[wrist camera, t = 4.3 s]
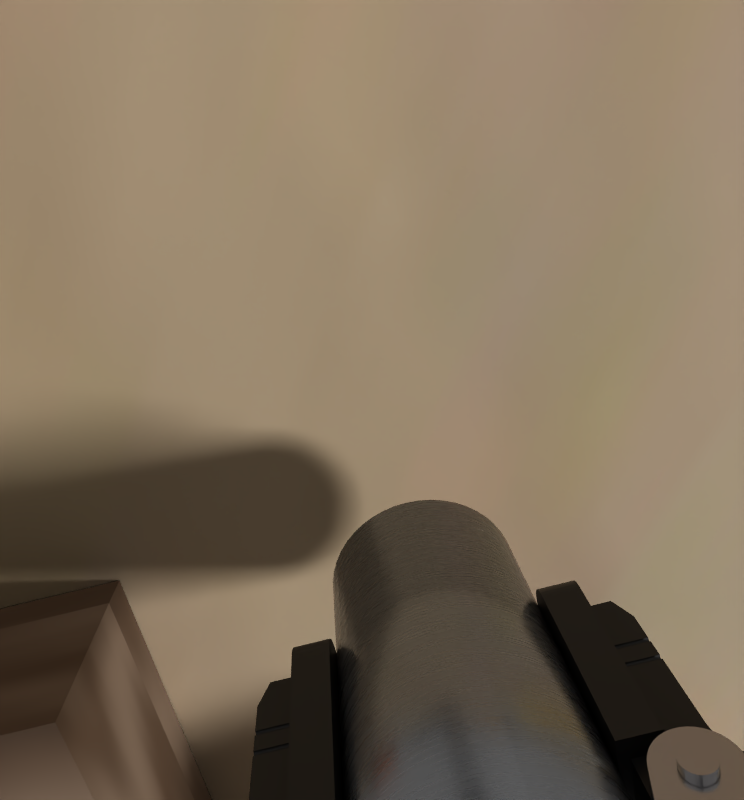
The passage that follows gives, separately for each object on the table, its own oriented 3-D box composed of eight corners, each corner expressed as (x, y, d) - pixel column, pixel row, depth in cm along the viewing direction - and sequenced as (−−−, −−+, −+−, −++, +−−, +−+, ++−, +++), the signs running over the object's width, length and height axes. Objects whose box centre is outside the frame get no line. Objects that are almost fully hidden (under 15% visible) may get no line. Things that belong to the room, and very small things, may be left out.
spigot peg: (313, 525, 15) (315, 1052, 6) (499, 480, 15) (754, 947, 6) (356, 671, 16) (406, 1261, 8) (525, 630, 16) (761, 1175, 8)
